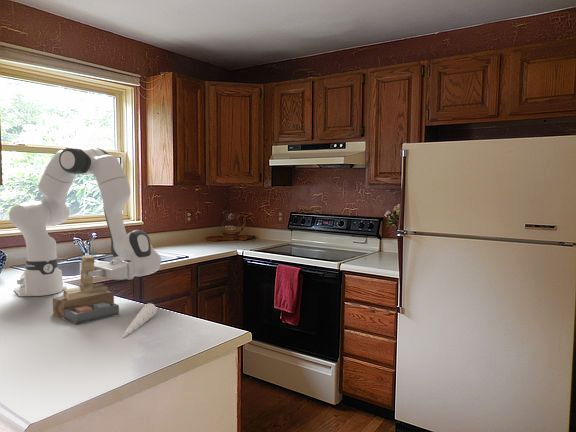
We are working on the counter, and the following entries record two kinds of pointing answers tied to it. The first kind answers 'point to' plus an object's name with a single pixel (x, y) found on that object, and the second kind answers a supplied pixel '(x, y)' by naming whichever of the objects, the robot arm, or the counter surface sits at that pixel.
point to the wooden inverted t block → (85, 282)
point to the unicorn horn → (141, 318)
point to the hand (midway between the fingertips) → (84, 273)
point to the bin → (91, 313)
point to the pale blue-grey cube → (101, 305)
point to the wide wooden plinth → (78, 302)
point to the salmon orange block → (82, 309)
